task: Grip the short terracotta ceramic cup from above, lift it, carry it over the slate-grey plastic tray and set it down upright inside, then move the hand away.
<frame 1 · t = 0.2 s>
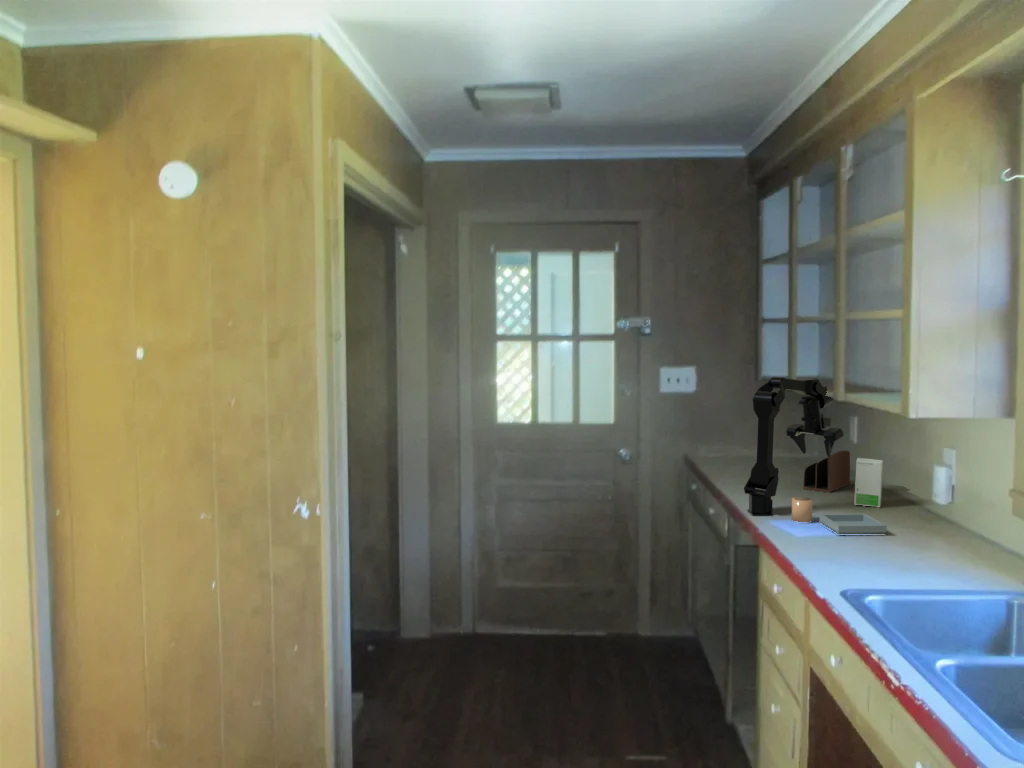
hand: (816, 454, 276), 15 cm above the worktop, tool pointing down, fingers open, 9 cm apart
skincare box: (868, 505, 266), on the worktop
tray: (851, 529, 235), on the worktop
terracotta cup: (801, 520, 246), on the worktop
letter holder: (826, 487, 296), on the worktop
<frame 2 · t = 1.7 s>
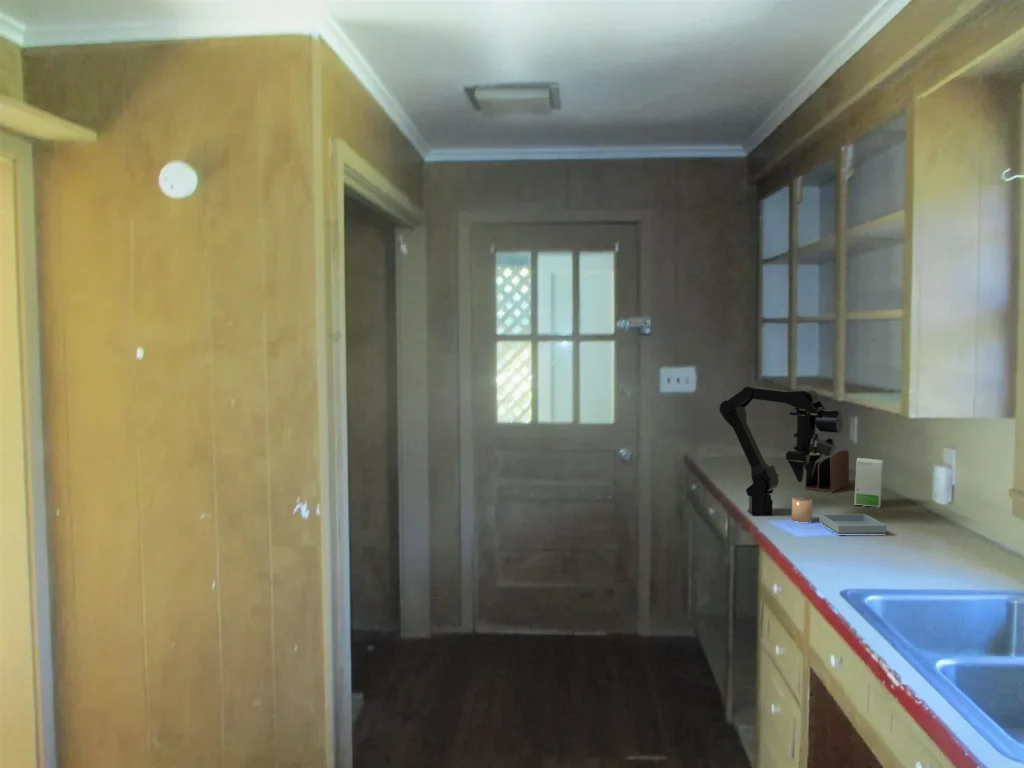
hand: (805, 479, 245), 13 cm above the worktop, tool pointing down, fingers open, 9 cm apart
nothing on the worktop moved.
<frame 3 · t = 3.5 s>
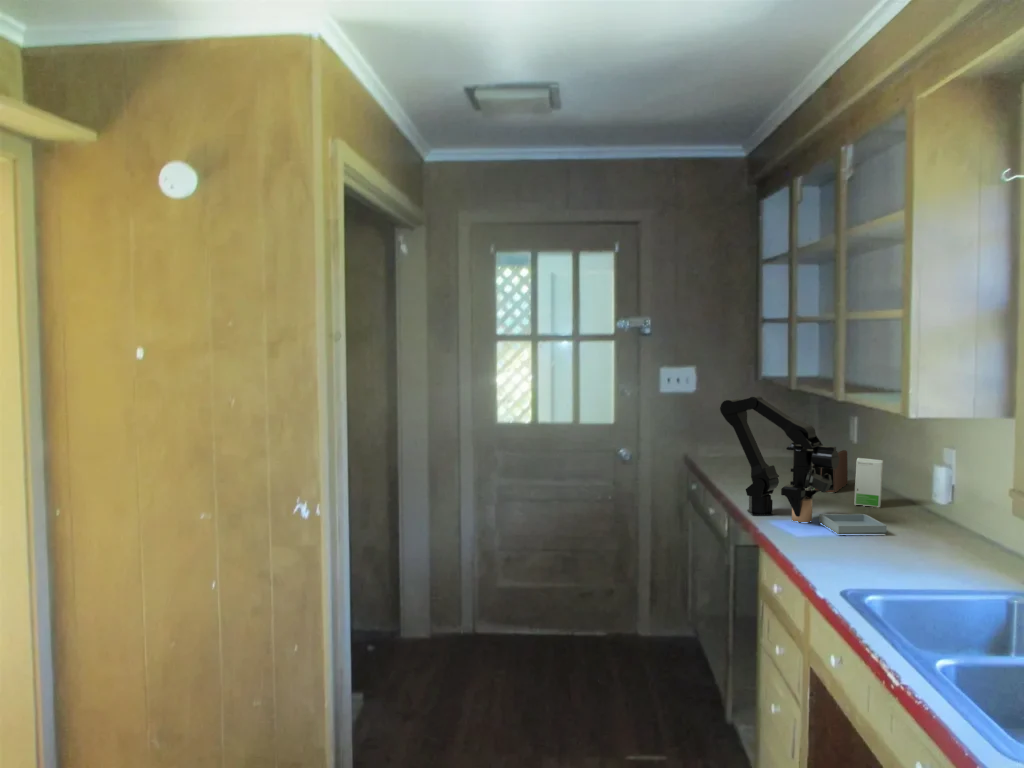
hand: (801, 514, 246), 2 cm above the worktop, tool pointing down, fingers closed on terracotta cup, 6 cm apart
terracotta cup: (801, 520, 246), on the worktop, touching gripper
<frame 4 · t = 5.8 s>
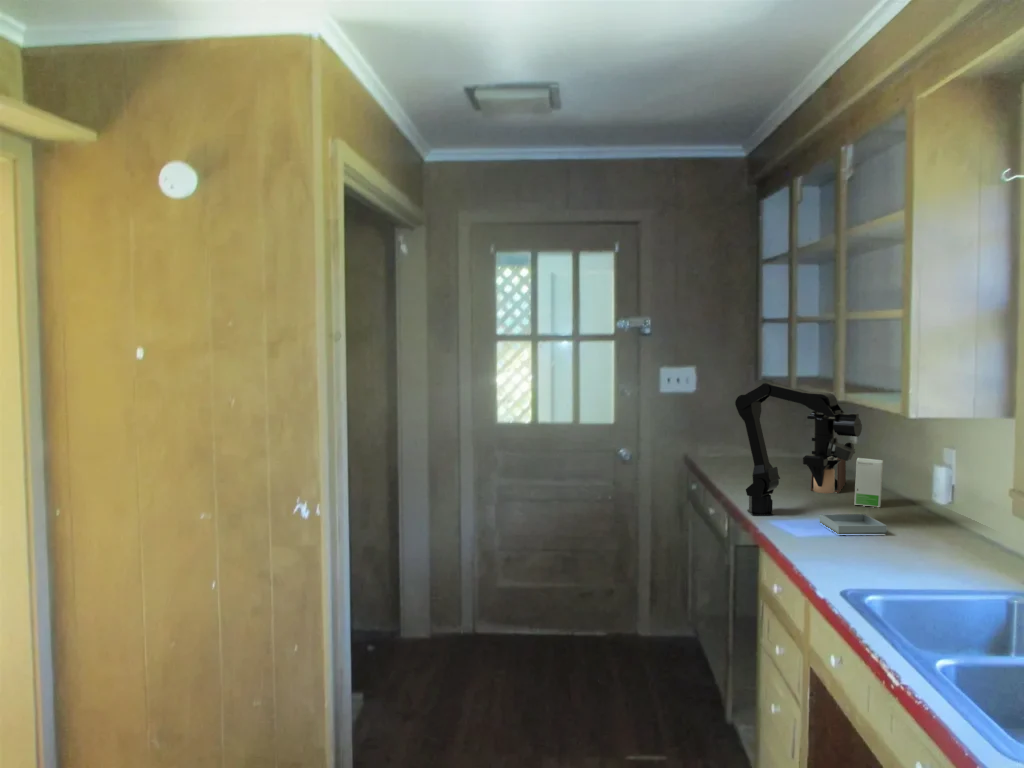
hand: (824, 484, 240), 12 cm above the worktop, tool pointing down, fingers closed on terracotta cup, 6 cm apart
terracotta cup: (823, 491, 240), point 10 cm above the worktop, touching gripper
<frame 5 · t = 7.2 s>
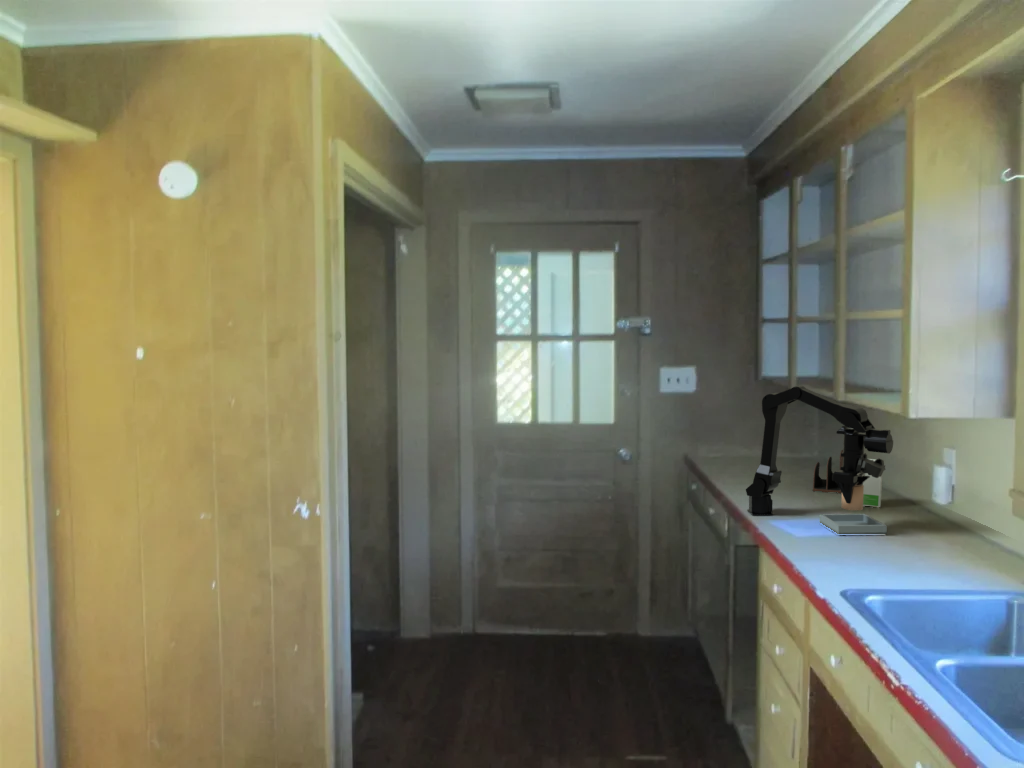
hand: (852, 501, 234), 9 cm above the worktop, tool pointing down, fingers closed on terracotta cup, 6 cm apart
terracotta cup: (852, 507, 235), point 7 cm above the worktop, touching gripper
when the fingers open (4 cm above the worktop, at t = 8.4 s): terracotta cup drops 1 cm, resting on tray.
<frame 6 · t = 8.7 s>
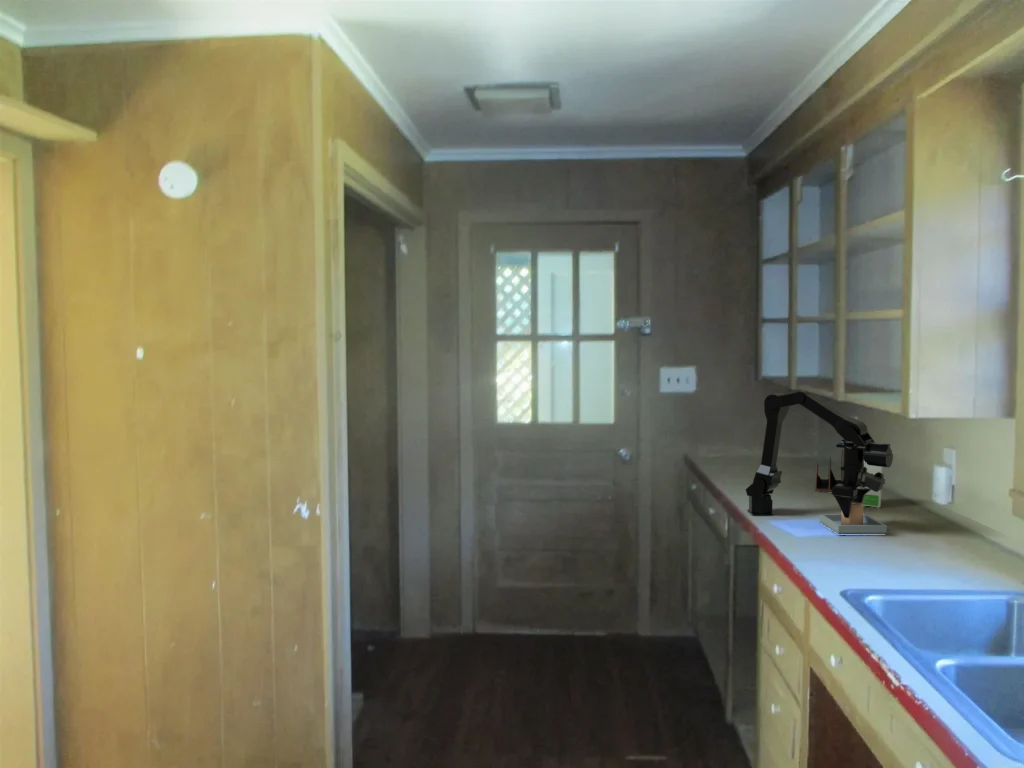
hand: (852, 514, 235), 4 cm above the worktop, tool pointing down, fingers open, 9 cm apart
terracotta cup: (851, 526, 235), point 1 cm above the worktop, touching tray
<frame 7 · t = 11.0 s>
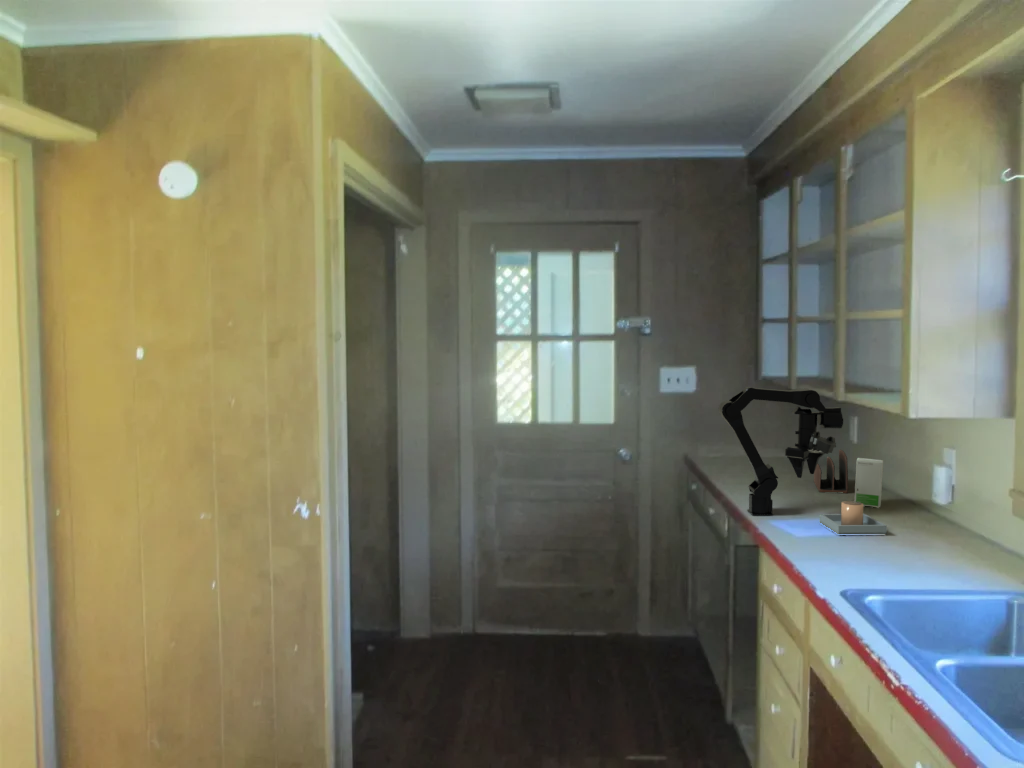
hand: (805, 475, 254), 13 cm above the worktop, tool pointing down, fingers open, 9 cm apart
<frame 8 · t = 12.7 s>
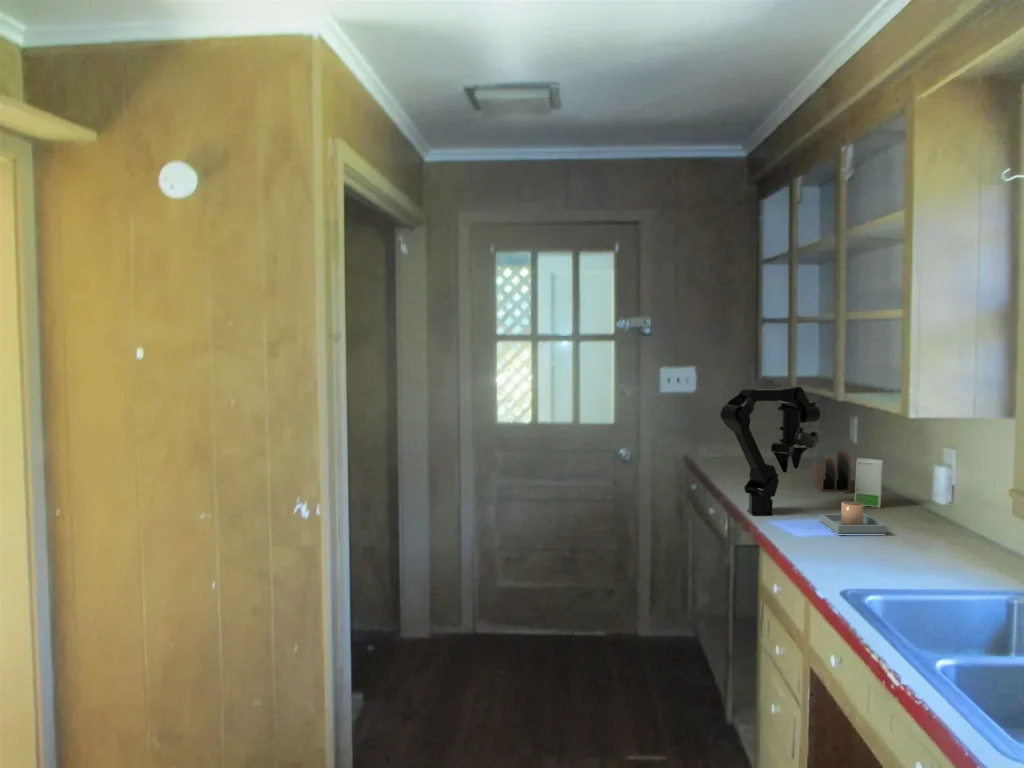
hand: (790, 470, 261), 13 cm above the worktop, tool pointing down, fingers open, 9 cm apart
at the end: terracotta cup inside the target area on the tray (0.0 cm from its centre), point 1.0 cm above the tray's base; terracotta cup tilted 0°; the gripper is holding nothing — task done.
